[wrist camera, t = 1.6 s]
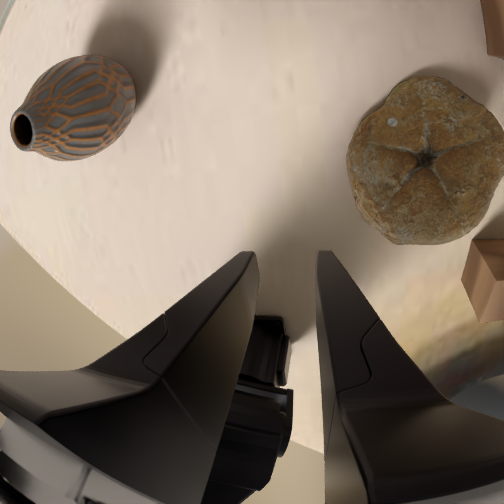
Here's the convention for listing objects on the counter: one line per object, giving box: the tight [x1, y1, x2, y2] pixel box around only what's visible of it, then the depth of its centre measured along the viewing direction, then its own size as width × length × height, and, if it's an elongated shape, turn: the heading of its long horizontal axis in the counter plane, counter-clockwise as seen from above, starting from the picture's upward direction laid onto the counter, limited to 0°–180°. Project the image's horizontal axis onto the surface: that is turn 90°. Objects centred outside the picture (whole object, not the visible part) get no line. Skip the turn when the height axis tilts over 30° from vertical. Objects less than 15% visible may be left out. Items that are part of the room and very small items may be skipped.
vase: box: [10, 55, 136, 161], centre depth 15 cm, size 7×7×9 cm
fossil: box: [347, 76, 504, 245], centre depth 15 cm, size 9×4×10 cm
